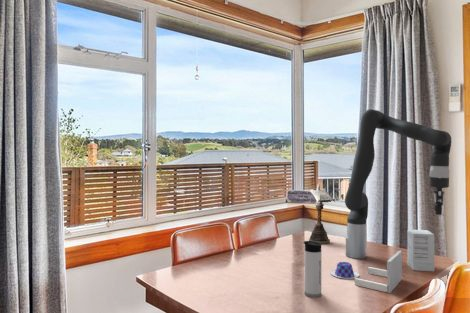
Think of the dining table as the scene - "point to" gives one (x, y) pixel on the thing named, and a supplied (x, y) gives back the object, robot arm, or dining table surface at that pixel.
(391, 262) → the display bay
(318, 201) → the brown tall flared piece
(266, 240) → the dining table surface
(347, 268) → the blue checkered hat
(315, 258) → the travel mug
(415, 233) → the supplement box
